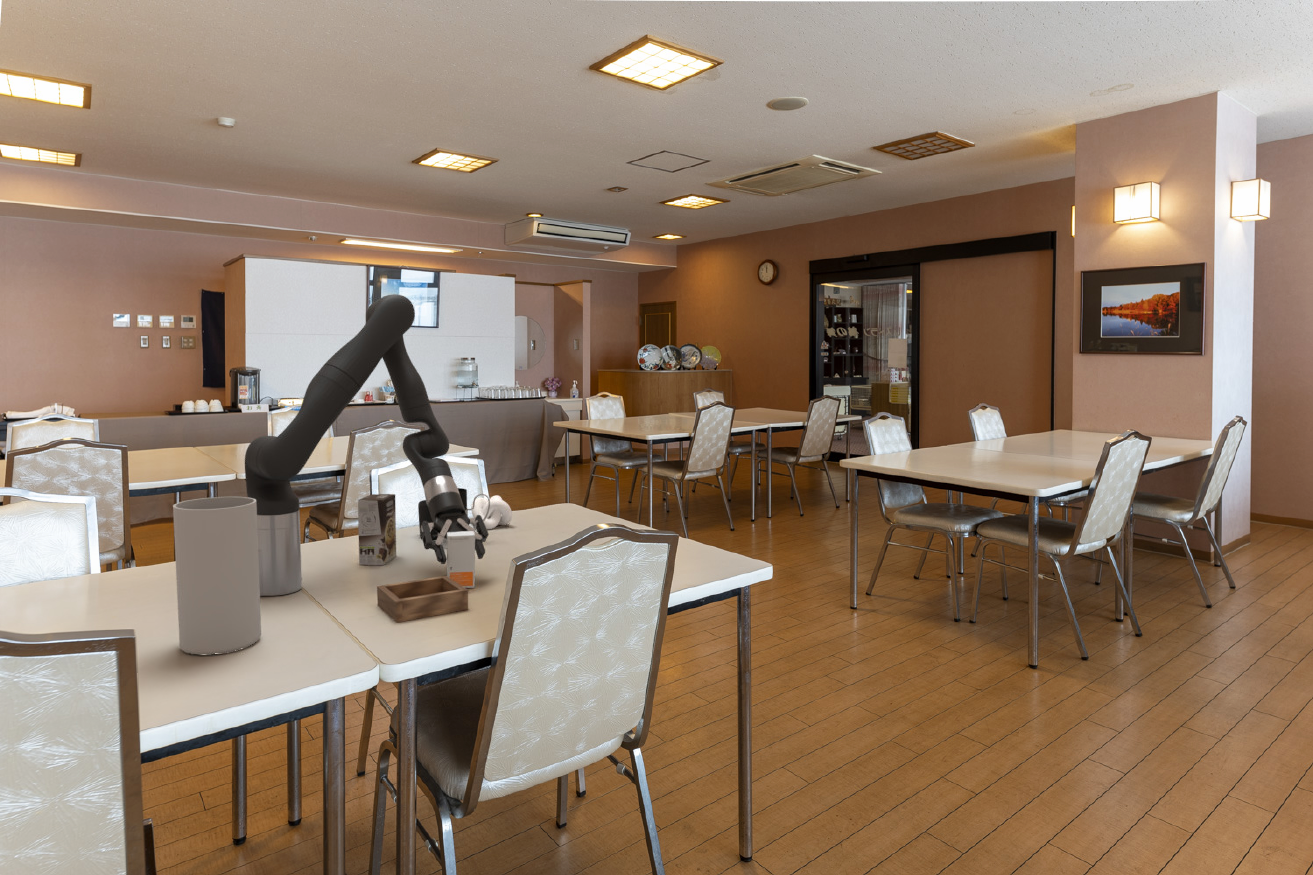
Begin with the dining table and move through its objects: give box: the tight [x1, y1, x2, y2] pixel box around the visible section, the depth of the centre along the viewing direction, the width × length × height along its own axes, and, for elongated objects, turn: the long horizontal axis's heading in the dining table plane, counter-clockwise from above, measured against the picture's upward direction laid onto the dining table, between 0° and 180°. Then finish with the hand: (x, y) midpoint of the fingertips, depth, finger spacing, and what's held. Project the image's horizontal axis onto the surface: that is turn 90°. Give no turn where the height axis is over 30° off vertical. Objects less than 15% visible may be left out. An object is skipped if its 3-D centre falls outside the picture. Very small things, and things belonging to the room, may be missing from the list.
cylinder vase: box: [172, 496, 262, 655], centre depth 137 cm, size 12×12×25 cm
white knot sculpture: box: [470, 494, 513, 530], centre depth 236 cm, size 11×12×9 cm
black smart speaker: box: [417, 499, 438, 541], centre depth 222 cm, size 9×9×10 cm
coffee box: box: [357, 493, 397, 566], centre depth 195 cm, size 9×6×16 cm
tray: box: [376, 575, 469, 623], centre depth 159 cm, size 14×12×4 cm
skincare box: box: [446, 531, 476, 589], centre depth 174 cm, size 6×4×12 cm
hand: (463, 559), depth 173 cm, fingers open, 8 cm apart
